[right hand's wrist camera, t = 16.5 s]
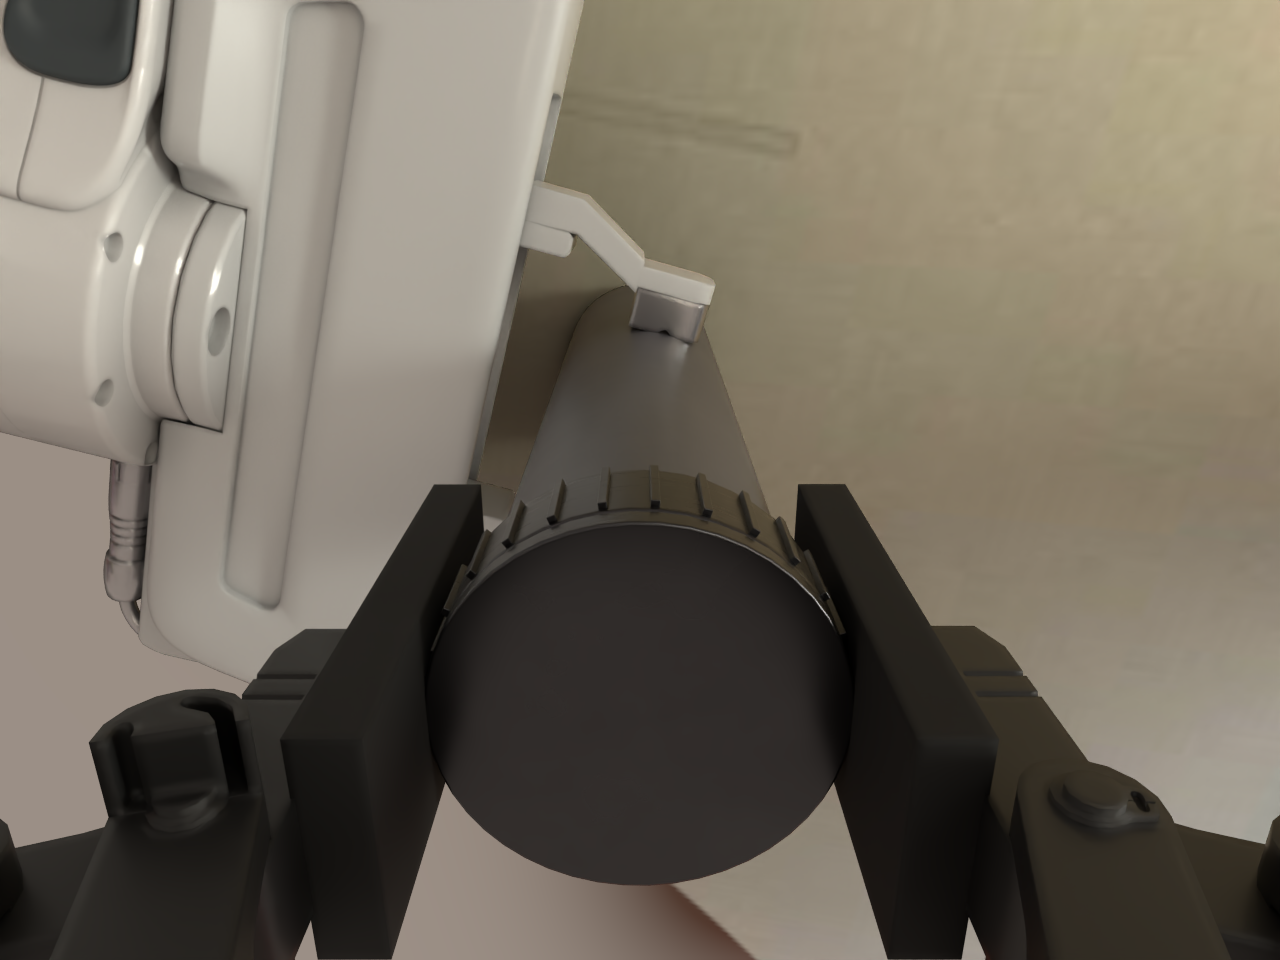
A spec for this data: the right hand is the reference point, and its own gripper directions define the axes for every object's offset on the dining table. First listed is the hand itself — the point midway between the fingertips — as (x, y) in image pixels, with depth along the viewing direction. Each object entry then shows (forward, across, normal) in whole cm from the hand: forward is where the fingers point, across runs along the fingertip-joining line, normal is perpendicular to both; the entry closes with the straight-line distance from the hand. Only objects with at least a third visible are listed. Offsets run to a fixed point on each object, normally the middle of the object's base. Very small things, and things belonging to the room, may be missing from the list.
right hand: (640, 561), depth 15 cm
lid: (-4, 0, 0) cm, 4 cm away
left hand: (+9, -1, 0) cm, 9 cm away
